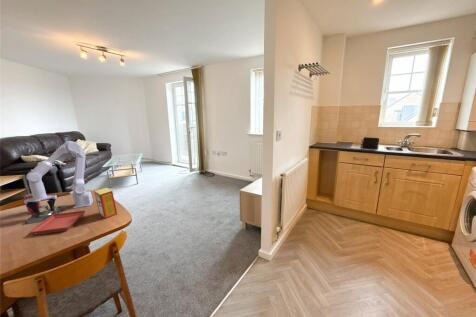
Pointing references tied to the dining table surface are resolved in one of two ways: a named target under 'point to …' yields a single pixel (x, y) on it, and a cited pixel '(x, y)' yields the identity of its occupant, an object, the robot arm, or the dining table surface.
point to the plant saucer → (58, 222)
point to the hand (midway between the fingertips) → (44, 211)
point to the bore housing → (35, 217)
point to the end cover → (44, 210)
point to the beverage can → (30, 198)
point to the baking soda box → (105, 202)
